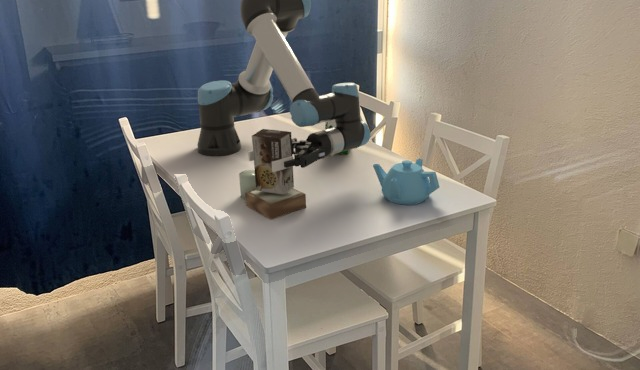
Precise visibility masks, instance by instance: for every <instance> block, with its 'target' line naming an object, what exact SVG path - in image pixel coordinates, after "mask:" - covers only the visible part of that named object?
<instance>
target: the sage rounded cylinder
mask: <svg viewBox="0 0 640 370" xmlns="http://www.w3.org/2000/svg"><path fill="white" fill-rule="evenodd" d="M238 177H239V189H240V198H241V199H242V200H244V201H246V197H245V193H246V192H249V191H253V190H256V182H255V169H247V170H246V169H245V170H242V171H240V172H239V174H238Z"/></svg>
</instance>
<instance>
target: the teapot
mask: <svg viewBox="0 0 640 370" xmlns="http://www.w3.org/2000/svg"><path fill="white" fill-rule="evenodd" d="M423 160H424V159H423V158H417V159H416V160H415V163H413V161H411V160H409V159H408V160H407V159H406V160H402V161H401V162H399V163H395V164H394V165H392V166H391V167H390V169H389V170H388V172H387V173H386V171H385V170H384V168H383V167H382V166H381V165H380V164H379V163H374V164H373V165H372V167H373V170H374V172H375V174H376V176H377V179H378V182H379V185H380V186H381V193H382V195H383V196H384V198H386V200H387V201H389V202H390V203H394V204H398V205H403V206H404V205H406V206H407V205H408V206H413V205H417V204H420V203H423V202H424V201H426V199H428V197H429V196H430V195H431V194H432V193H434V192H435V191H437V190H438V189H439V188H440V183H439V180H438V176H437V173H436V171H425V170H424V168H423Z"/></svg>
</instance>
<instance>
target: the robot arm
mask: <svg viewBox="0 0 640 370" xmlns="http://www.w3.org/2000/svg"><path fill="white" fill-rule="evenodd" d="M311 7H312V2H311V0H241V1H240V7H239V13H240V18H241V22H242V25H243V26H244V29H245V31H246V32H247V34H248V35H250V36H252V37H254V39H255V44H254V46H253V49H252V53H251V55H250V57H249V60H248V64H247V66H246V69H245V70H243V71H241V72H240V73H239V75H238V78H237V80H236V82H233V83H231V82H230V81H228V80H213V81H209V82H207V83H204V84H202V85H201V86H200V87H199V88H198V89H197V103H198V112H199V123H200V124H199V125H200V133H199V137H198V141H197V152H198V153H199V154H201V155H204V156H211V157H212V156H213V157H215V156H216V157H218V156H219V157H221V156H226V155H231V154H235V153H237V152H239V151H240V150H241V148H242V145H241V144H242V143H241V139H240V137H239V135H238V132H237V130H236V128H235V119H234V118H237V117H241V116H242V117H243V116H246V115H251V114H256V113H260V112H263V111H265V110H267V109H268V108H269V107H271V106H272V103H273V100H274V95H273V93H274V88H273V86H272V83H271V80H270V78H271V77H272V73H273V71H274V74H275V75H276V77H277V79H278V80H279V82H280V83H281V85H282V88H283V89H284V91H285V93H286V94H287V95H288V97H289V99H290V101H291V103H292V104H291V105H290V107H289V114H290V115H291V117H290V118H291V121H292V123H293V124H295V126H297V127H300V128H304V127H305V128H306V127H310V126H311V127H312V126H316V125H318V124H321V123H325V122H326V121H330V120H334V119H335V123H336V127H334V128H329V129H326V130H325V129H323V130H320V131H319V130H318V131H316V132H311V133H310V134H309V135H308V136H307V138H306V139H305V140H304V139H303V140H302V139H300V140H298V138H297V137H294V138H291V139H292V156H290V157H286V158H283V159H279V160H276V161H272V172H276V171H279V170H283V169H286V168H289V167H293V168H294V167H295V168H296V167H299V166H300V168H302V169H304V168H306V167H308V166H310V165H312V164H314V163H315V162H318V161H319V160H323V159H325V158H327V157H329V156H331V157H333V156H334V155H337V154H336V153H339V152H343V151H346V150H349V151H350V150H353V149H357V148H360V147H362V146H365V145H366V144H367V143H369V142H370V139H371V129H370V128H369V125H368V124H367V123H366V122H365V121H363V120H362V119H361V111H360V109H361V108H360V93H359V89H358V85H357V84H356V83H355V82H342V83H341V82H340V83H335V84H333V85H332V87H331V92H329V93H330V94H328V93H326V94H322V95H319V93H318V92H317V90H316V88H315V87H314V85H313V84H312V82H311V79H310V78H309V77H308V74H307V73H306V71H305V70H304V69H303V66H302V64H301V63H300V62H299V60H298V58H297V56H296V55H295V53H294V51H293V49H292V48H291V46H290V44H289V43H288V41H287V40H286V38H287V36H288V34H289V33H290V32H292V31H294V30H295V29H296V27H297V24H298V22H299V20H300V19H301V20H302V19H305V18H306V17H308V16H309V14H310V12H311ZM247 155H248V162H252V161H253V162H254V157H253V149H251V150H248V151H247ZM293 155H294V156H293Z"/></svg>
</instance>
